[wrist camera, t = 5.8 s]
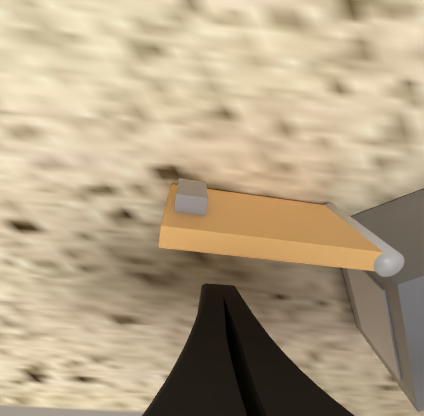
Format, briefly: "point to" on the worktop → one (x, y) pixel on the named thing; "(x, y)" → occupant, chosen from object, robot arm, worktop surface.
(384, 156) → the worktop surface
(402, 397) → the worktop surface
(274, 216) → the side door
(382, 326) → the camera body
